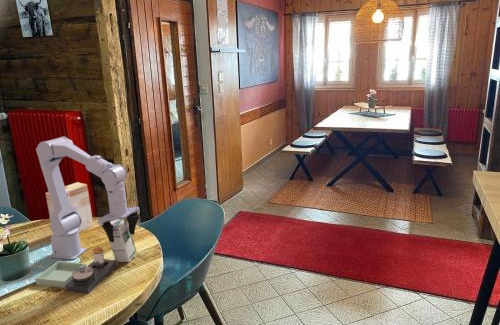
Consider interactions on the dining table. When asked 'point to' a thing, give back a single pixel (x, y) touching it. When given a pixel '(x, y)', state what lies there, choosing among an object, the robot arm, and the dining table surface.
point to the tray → (58, 274)
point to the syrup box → (122, 241)
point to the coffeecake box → (77, 203)
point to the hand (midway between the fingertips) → (122, 237)
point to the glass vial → (98, 258)
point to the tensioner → (89, 277)
